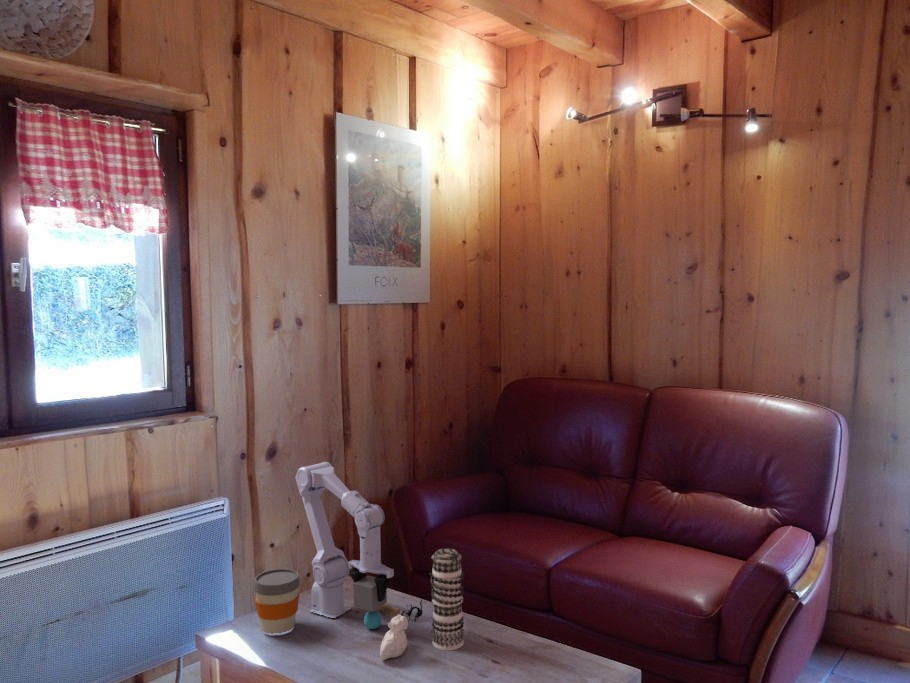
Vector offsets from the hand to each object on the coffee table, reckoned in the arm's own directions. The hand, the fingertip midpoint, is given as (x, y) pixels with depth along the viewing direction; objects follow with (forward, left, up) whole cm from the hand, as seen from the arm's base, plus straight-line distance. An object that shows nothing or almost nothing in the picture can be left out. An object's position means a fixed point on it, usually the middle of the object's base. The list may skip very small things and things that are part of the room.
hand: (371, 597), depth 197 cm
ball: (0, 0, -6) cm, 6 cm away
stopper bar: (-1, +9, -9) cm, 13 cm away
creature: (+6, +10, -9) cm, 15 cm away
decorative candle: (+23, +4, -9) cm, 25 cm away
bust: (+14, -8, -9) cm, 19 cm away
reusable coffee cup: (-23, -13, -9) cm, 28 cm away
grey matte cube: (0, 0, -2) cm, 2 cm away
